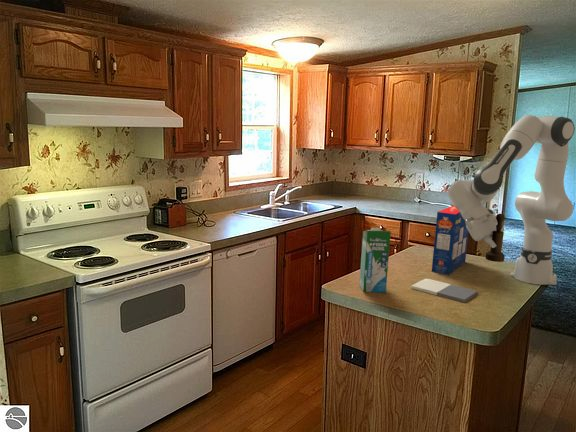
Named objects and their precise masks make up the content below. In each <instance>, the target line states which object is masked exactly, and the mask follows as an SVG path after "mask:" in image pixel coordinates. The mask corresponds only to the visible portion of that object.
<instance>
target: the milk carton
mask: <svg viewBox="0 0 576 432" xmlns="http://www.w3.org/2000/svg"><path fill="white" fill-rule="evenodd" d="M391 234H392V233H391V230H382V228H380V227H371V228H370V230H363V231H362V242H361V257H360V272H359V274H360V275H359V286H360V288H361V291H362V292H364V293H387V281H388V271H389V269H388V268H389V260H390V259H389V258H390V257H389V256H390V245H391V244H390V243H391Z"/></svg>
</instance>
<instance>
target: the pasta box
mask: <svg viewBox="0 0 576 432" xmlns="http://www.w3.org/2000/svg"><path fill="white" fill-rule="evenodd" d="M469 234H470V233H469V231H468V230H467V227H466V223H465V220H464V218H463V217H462V215H461V213H460V211H459V210H458V209H456V207H455V206H454V205H451V206H448V207H446V208H443V209H440V210H439V211H437V214H436V223H435V234H434V243H433V254H432V264H431V272H432V273H438V274H442V275H447V276H449V275H451V274H452V273H453V272H455V271H457V269H459V268H460V267H461V266H462V265H464V264H465V263H466V259H467V258H466V257H467V247H468V241H469Z"/></svg>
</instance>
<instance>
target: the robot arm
mask: <svg viewBox="0 0 576 432" xmlns="http://www.w3.org/2000/svg"><path fill="white" fill-rule="evenodd" d="M575 129H576V128H575V124H574V121H573V120H572V119H571V118H568V117H565V116H554V115H552V116H551V115H550V116H549V115H546V116H535V115H533V114H526V115H524V116H523V115H522V117H521V118H519V119H518V120H516V122H514V124H513V125H512V126H511V127H510V129H509V130H508V131H507V132H506V134H505V136H504V137H503V139H502V141H501V143H500V145H499V151H498V152H497V153H496V154H495V156H494V157H493V158H492V160H491V161H490V163H488V164H486V165H484V166H483V167H481V168H480V169H478V170H477V171H476V172H475V174H474V177H473V179H468V180H467V179H457V180H456V181H454V182H453V183H452V184H451V185H450V186H449V188H448V189H447V197H448V198H449V200H450V202H451V203H452V204H453V205H454V206H455V207H456V209H458V210H459V211H460V213H461V215H462V217H463V218H464V220H465V223H466V227H467V230H468V231H469V233H468V234H470V235H469V236H470V237H471V238H472V239H473V240H474V241H475V242H480V241H482V240H484V242H485V243H487V244H488V245H489V246H490V248H491V247H492V248H495V247H496V246H497V244H496V242H494V241H493V240H492V235H493V231H497V230H496V225H497V224H498V222H497V220H496V216H497V215H495V212H494V210H493V209H490V208H487V207H485V205H484V204H485V203H488V202H490V201H492V200H493V199H494V198H495V196H496V195H497V192H498V191H499V189H500V188H501V186H502V185H503V181H504V174H505V172H506V171H507V170H508V168H509V167H510V166H511V164H512V163H513V161H517V160H521V159H523V158H524V157H525V156H526V155H527V154H528V153H529V152H530V151H531V149H532V148H533V147H534V145H535V144H536V143H537V144H541V147H540V149H539V154H538V157H537V162H536V165H535V166H536V167H535V173H534V179H535V180H536V182H537V183H539V186H540V190H541V192H538V191H532V190H531V191H528V190H527V191H522V192H520V193H518V194H517V196H516V197H515V201H514V207H515V209H516V211H517V212H518V213H519V215H520V217H521V220H522V222H523V229H524V230H523V231H524V235H523V243H522V244H523V245H522V247H521V250H520V256H519V257H518V258H516V259H515V260H516V261H515V266H514V270H513V271H512V272H510V273H509V274H510V276H511V277H514V278H515V279H516V280H518V281H521V282H524V283H528V284H533V285H541V286H543V285H545V286H546V285H551V286H552V285H553V286H554V285H555V286H556V285H557V274H556V273H555V272H553V267H554V264H553V262H552V256H553V251H552V246H553V240H554V239H553V238H554V233H553V231H552V230H551V229H550V227H549V226H548V224H547V222H546V220H547V221H550V222H565V221H567V220H568V219H570V218H571V216H572V214H573V212H574V204H573V202H572V200H570V198H569V197H568V195H567V193H566V190H565V181H564V180H565V175H566V168H567V163H568V158H569V142H570V141H571V139H572V138H573V136H574V134H575V131H576V130H575ZM453 205H452V206H453ZM501 231H502V232H504V233H505V228H504V226H503V225H502V229H501ZM503 245H504V242H503V243H502V246H503Z"/></svg>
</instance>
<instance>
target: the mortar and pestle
mask: <svg viewBox="0 0 576 432" xmlns="http://www.w3.org/2000/svg"><path fill="white" fill-rule="evenodd" d="M495 216H496V220H497V222H498V224H497V225H496V230H497V231H493V235H492V237H491V239H492V240H493V241H494V242H496V244H497V246H496V247H495V248H492V247H491V246H490V250H489V251H487V252H486V253H485V260H487V261H490V262H497V263H503V262H505V258H506V257H505V254H504V253H503V251H502V250H503V245H502V243H504V235H505V231H504V232H502V231H501V229H502V226H503V222H504V221H505V218H506V216H505V215H504V214H503V213H497V215H495Z"/></svg>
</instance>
